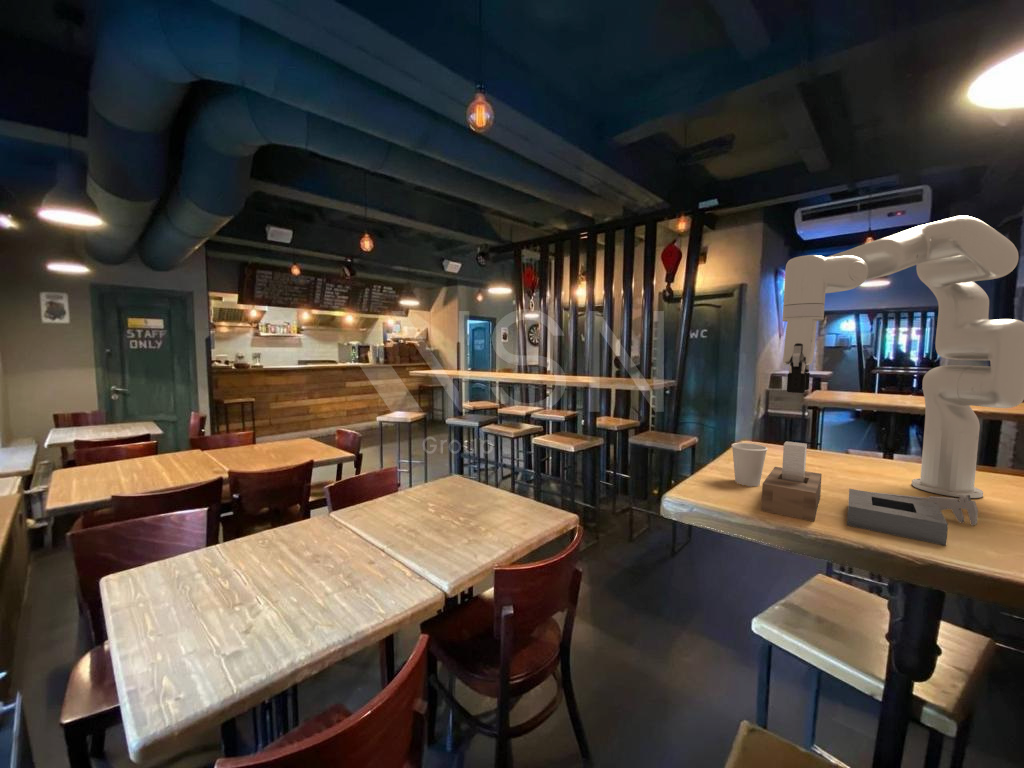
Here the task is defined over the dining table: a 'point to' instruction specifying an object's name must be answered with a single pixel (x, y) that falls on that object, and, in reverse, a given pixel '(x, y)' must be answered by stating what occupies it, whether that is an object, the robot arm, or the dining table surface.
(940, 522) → the seat block
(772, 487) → the slotted block
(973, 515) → the caliper
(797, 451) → the rectangular block
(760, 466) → the dixie cup
